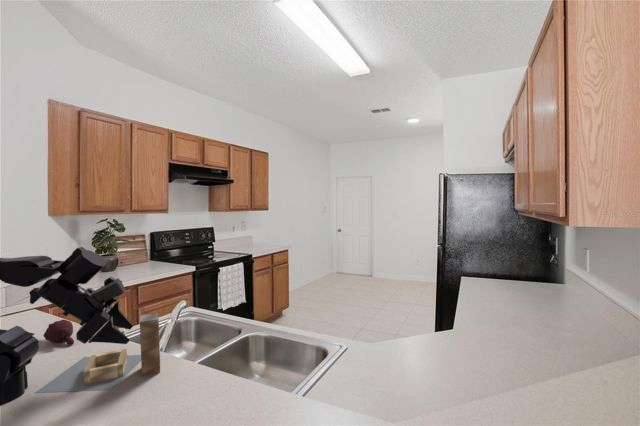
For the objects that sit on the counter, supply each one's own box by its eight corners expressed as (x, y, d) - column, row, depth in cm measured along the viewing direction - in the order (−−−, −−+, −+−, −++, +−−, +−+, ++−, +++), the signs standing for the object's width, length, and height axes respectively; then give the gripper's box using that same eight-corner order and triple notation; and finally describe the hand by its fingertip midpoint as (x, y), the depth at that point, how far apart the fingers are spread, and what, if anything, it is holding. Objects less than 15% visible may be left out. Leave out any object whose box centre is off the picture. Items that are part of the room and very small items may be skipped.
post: (142, 380, 76) (139, 322, 76) (143, 370, 81) (140, 315, 80) (160, 376, 78) (158, 319, 78) (160, 366, 83) (158, 312, 82)
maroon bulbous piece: (31, 322, 98) (51, 336, 91) (59, 309, 104) (80, 321, 97) (39, 340, 100) (59, 355, 93) (66, 326, 106) (87, 340, 99)
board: (112, 393, 71) (112, 389, 71) (34, 397, 71) (34, 392, 70) (147, 358, 87) (147, 354, 87) (84, 360, 86) (84, 356, 86)
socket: (83, 384, 73) (83, 372, 73) (91, 366, 81) (90, 355, 81) (123, 375, 77) (122, 364, 77) (127, 359, 85) (126, 348, 85)
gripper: (92, 279, 65) (154, 320, 71) (106, 263, 82) (155, 297, 88) (46, 323, 62) (114, 362, 68) (71, 297, 79) (124, 330, 84)
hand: (129, 334), depth 77 cm, fingers open, 9 cm apart
